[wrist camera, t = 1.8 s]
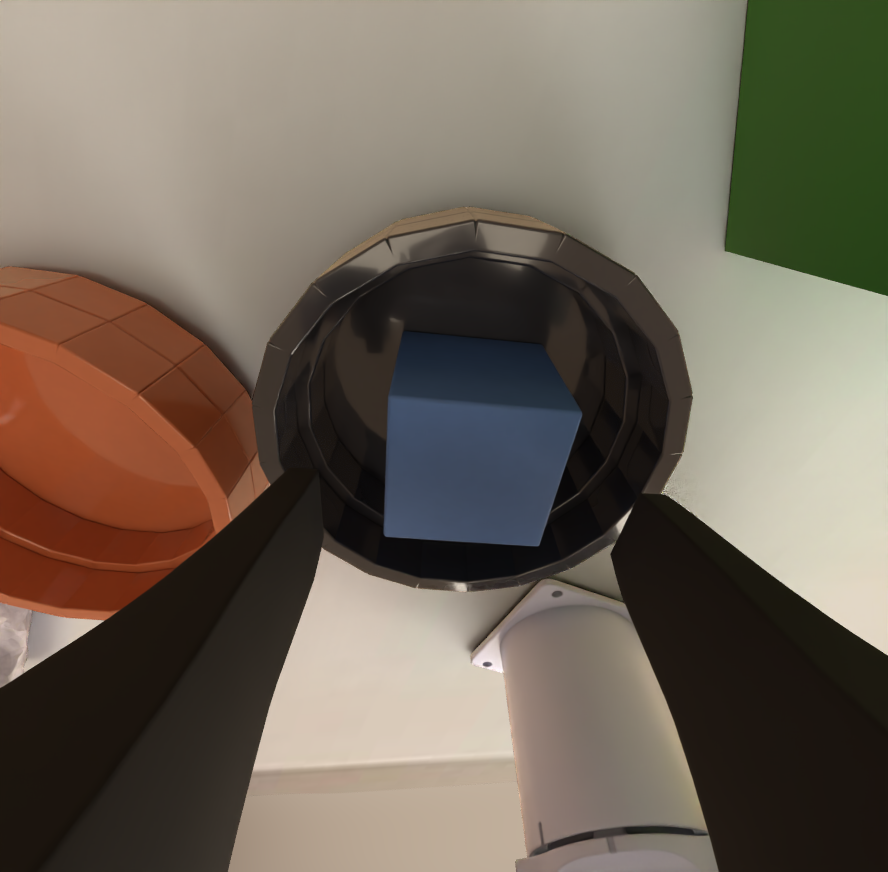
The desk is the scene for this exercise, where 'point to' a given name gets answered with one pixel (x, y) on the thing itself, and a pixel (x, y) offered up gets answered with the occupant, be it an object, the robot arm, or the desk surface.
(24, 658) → the stone block
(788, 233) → the hardback book
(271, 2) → the desk surface
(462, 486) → the block
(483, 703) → the desk surface
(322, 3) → the desk surface
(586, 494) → the black bowl
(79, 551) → the orange bowl
